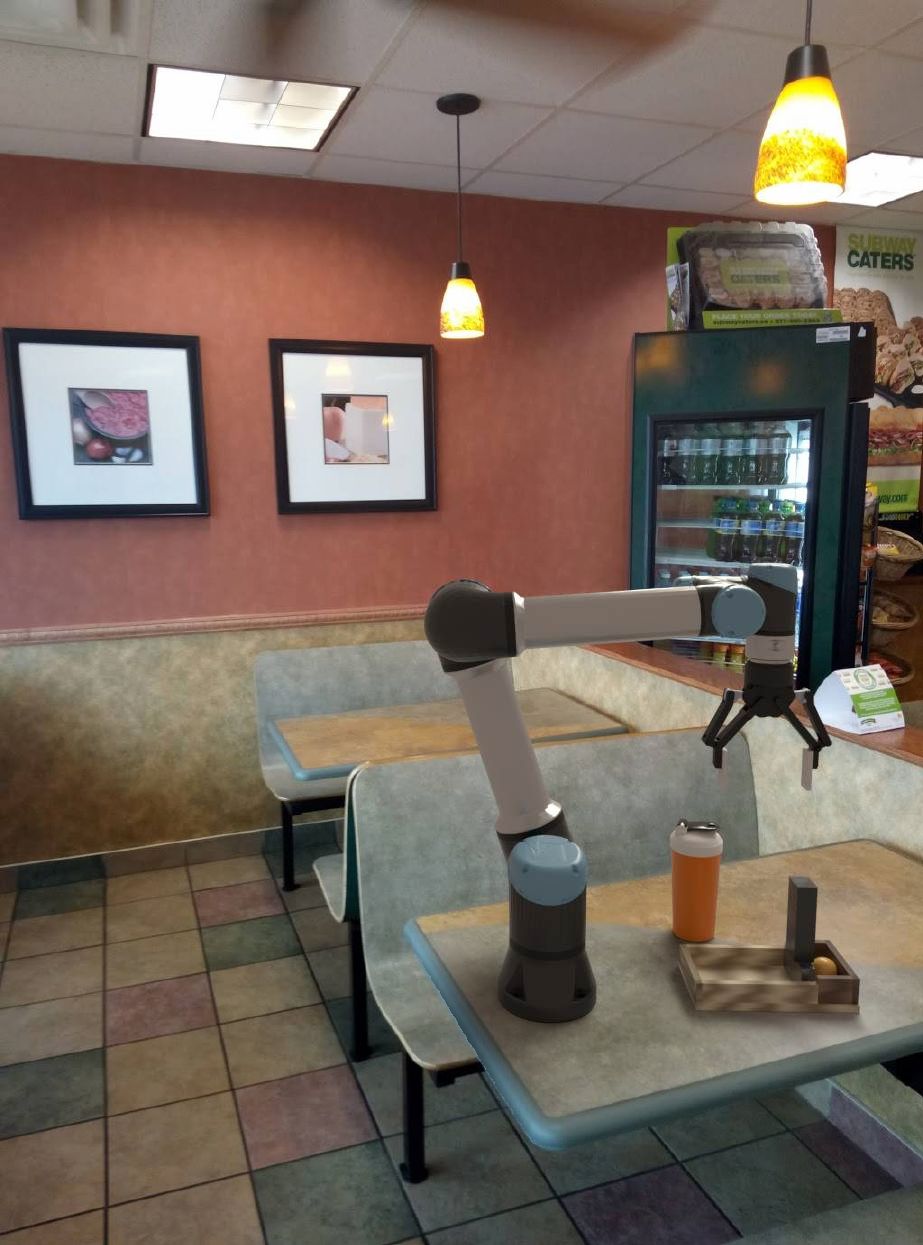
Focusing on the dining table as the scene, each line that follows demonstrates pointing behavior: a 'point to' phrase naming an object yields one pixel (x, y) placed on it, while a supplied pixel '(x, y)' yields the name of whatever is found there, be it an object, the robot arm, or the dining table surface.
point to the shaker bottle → (695, 878)
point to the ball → (824, 966)
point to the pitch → (764, 980)
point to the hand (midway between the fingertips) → (764, 787)
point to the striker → (800, 929)
